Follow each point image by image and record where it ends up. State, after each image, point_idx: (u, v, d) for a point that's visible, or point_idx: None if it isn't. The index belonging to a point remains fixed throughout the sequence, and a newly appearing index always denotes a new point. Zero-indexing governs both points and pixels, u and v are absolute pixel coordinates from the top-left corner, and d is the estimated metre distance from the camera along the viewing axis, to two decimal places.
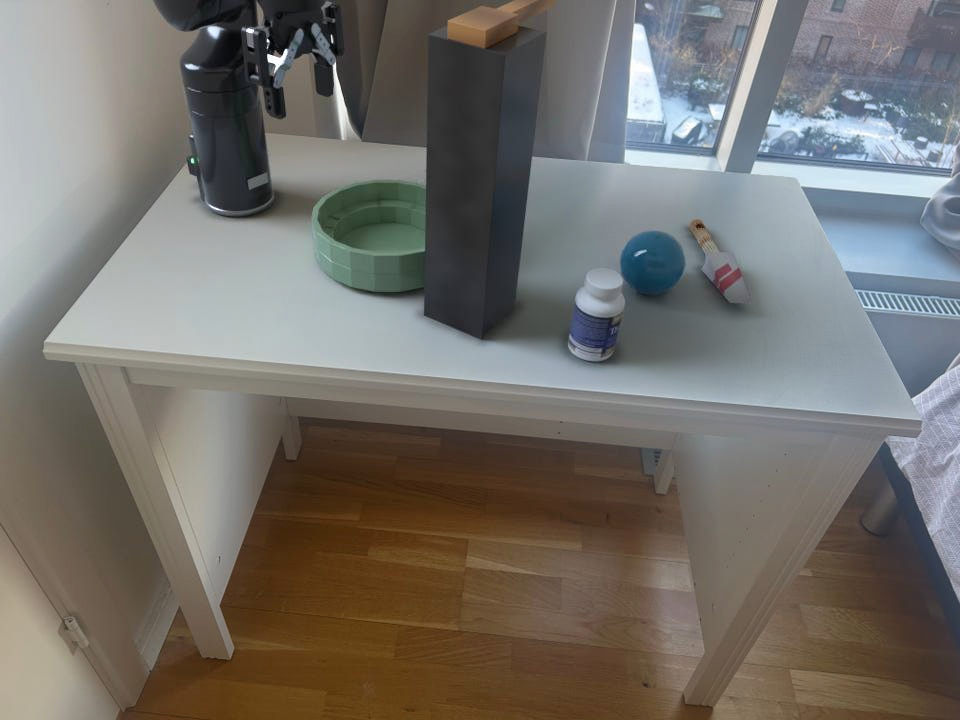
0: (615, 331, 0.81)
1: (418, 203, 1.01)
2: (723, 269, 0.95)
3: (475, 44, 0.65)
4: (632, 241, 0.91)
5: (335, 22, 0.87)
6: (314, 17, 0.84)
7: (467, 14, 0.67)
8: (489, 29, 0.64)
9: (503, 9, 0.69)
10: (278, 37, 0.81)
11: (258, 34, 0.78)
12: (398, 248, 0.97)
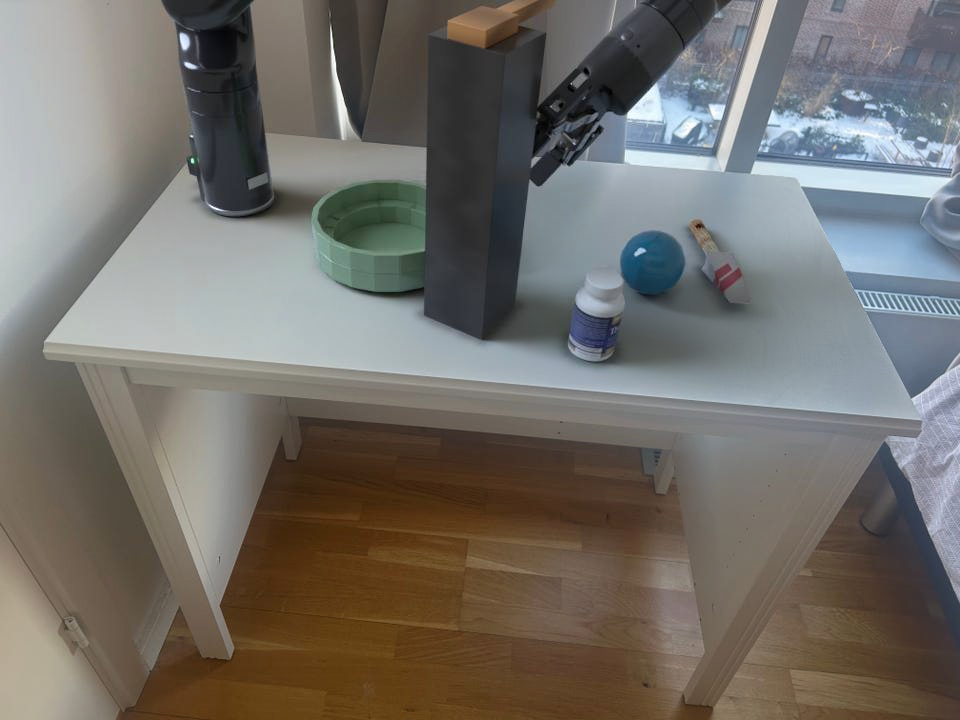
0: (615, 331, 0.81)
1: (418, 203, 1.01)
2: (724, 269, 0.95)
3: (475, 44, 0.65)
4: (632, 241, 0.91)
5: None
6: None
7: (467, 14, 0.67)
8: (489, 29, 0.64)
9: (503, 9, 0.69)
10: None
11: None
12: (398, 248, 0.97)
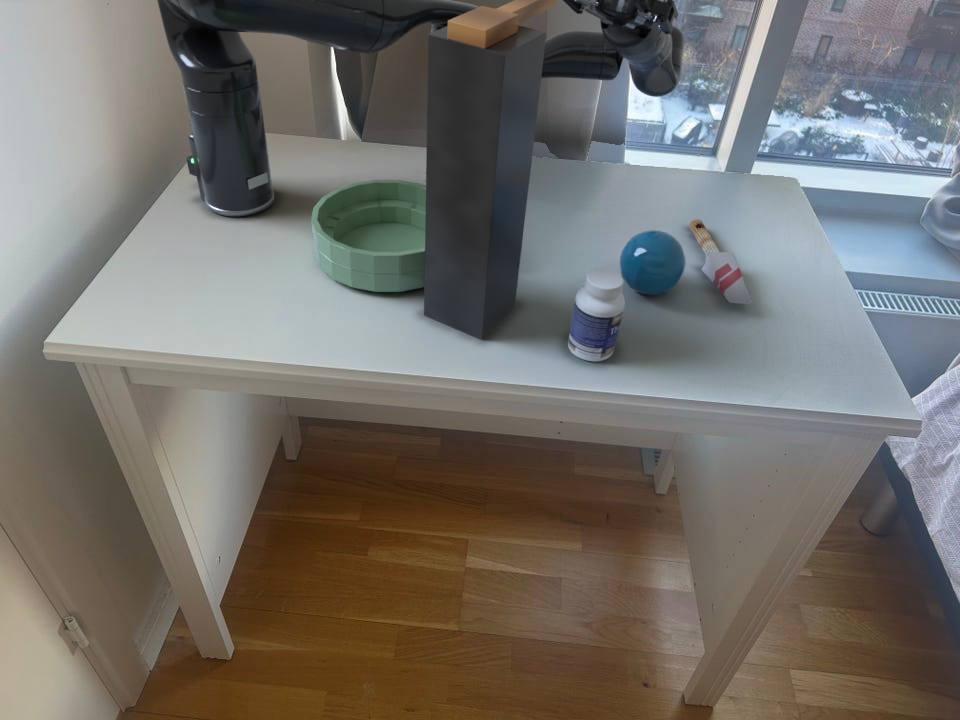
0: (615, 331, 0.81)
1: (418, 203, 1.01)
2: (724, 269, 0.95)
3: (475, 44, 0.65)
4: (632, 241, 0.91)
5: (578, 9, 0.97)
6: None
7: (467, 14, 0.67)
8: (489, 29, 0.64)
9: (503, 9, 0.69)
10: (647, 24, 0.94)
11: (670, 33, 0.94)
12: (398, 248, 0.97)
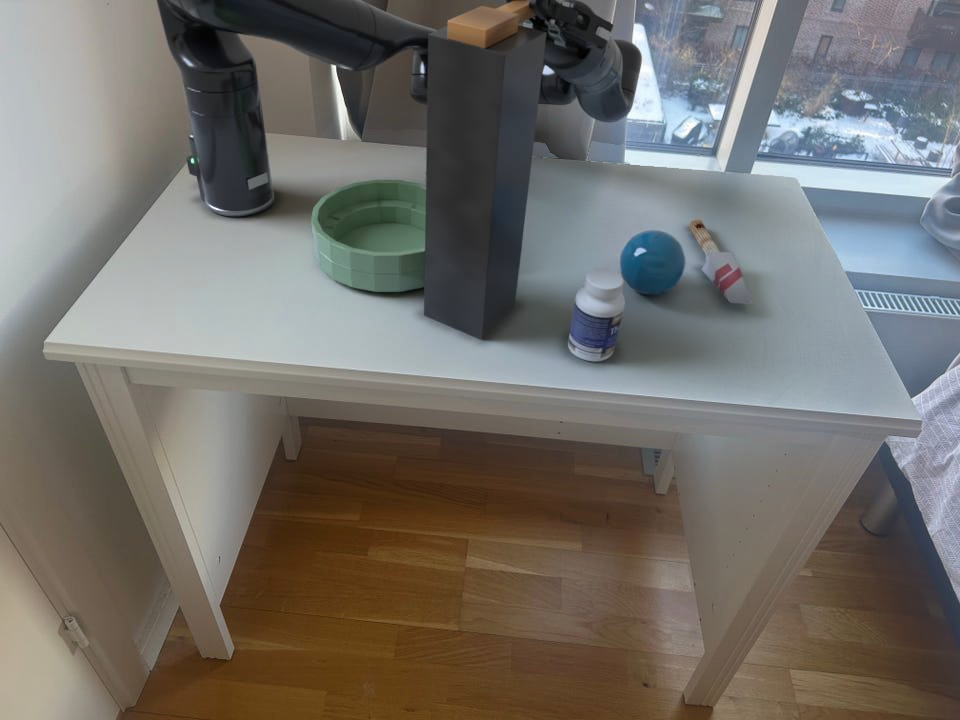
0: (615, 331, 0.81)
1: (418, 203, 1.01)
2: (724, 269, 0.95)
3: (475, 44, 0.65)
4: (632, 241, 0.91)
5: None
6: None
7: (467, 14, 0.67)
8: (489, 28, 0.64)
9: (503, 9, 0.69)
10: (585, 43, 0.79)
11: (604, 47, 0.77)
12: (398, 248, 0.97)
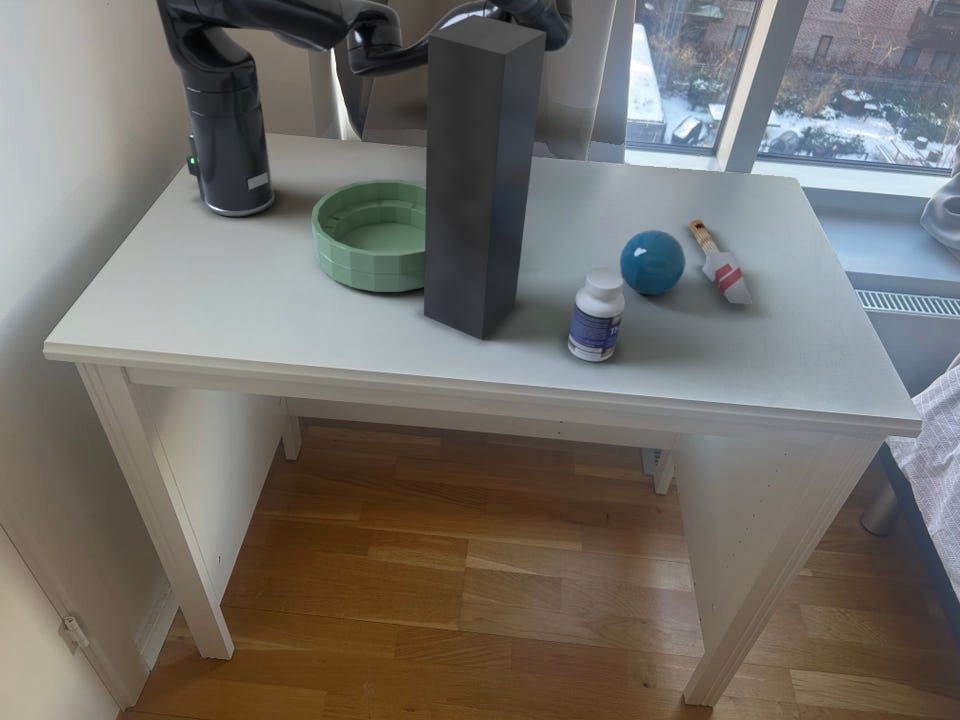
0: (615, 331, 0.81)
1: (418, 203, 1.01)
2: (724, 269, 0.95)
3: None
4: (632, 241, 0.91)
5: None
6: None
7: None
8: None
9: None
10: None
11: None
12: (398, 248, 0.97)
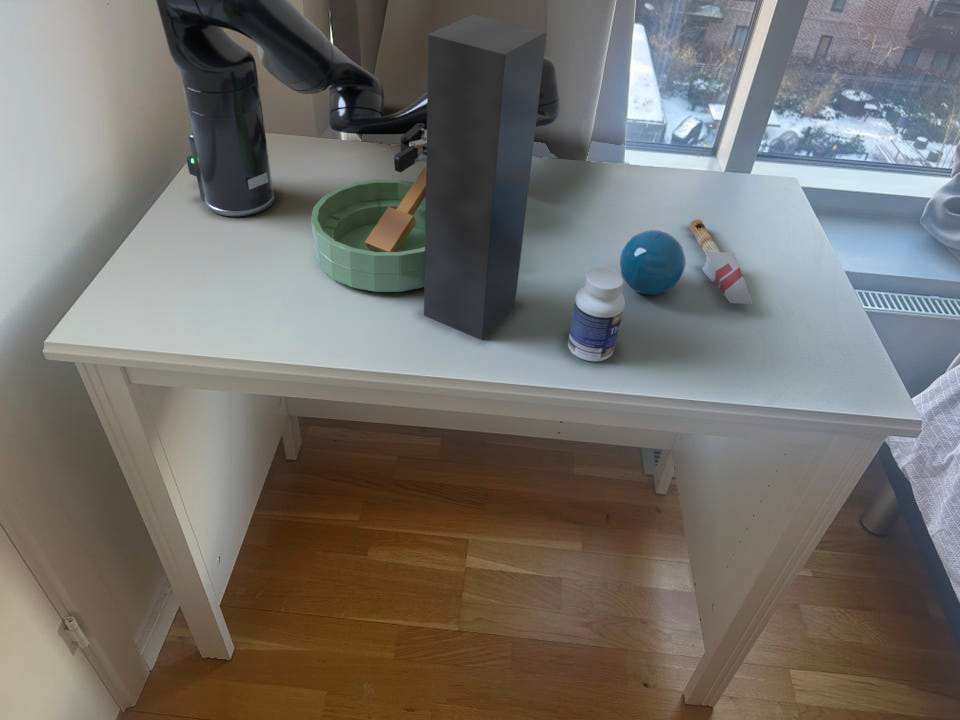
0: (615, 331, 0.81)
1: None
2: (724, 269, 0.95)
3: None
4: (632, 241, 0.91)
5: None
6: None
7: (377, 227, 0.96)
8: (391, 248, 0.94)
9: (403, 205, 0.96)
10: None
11: None
12: None
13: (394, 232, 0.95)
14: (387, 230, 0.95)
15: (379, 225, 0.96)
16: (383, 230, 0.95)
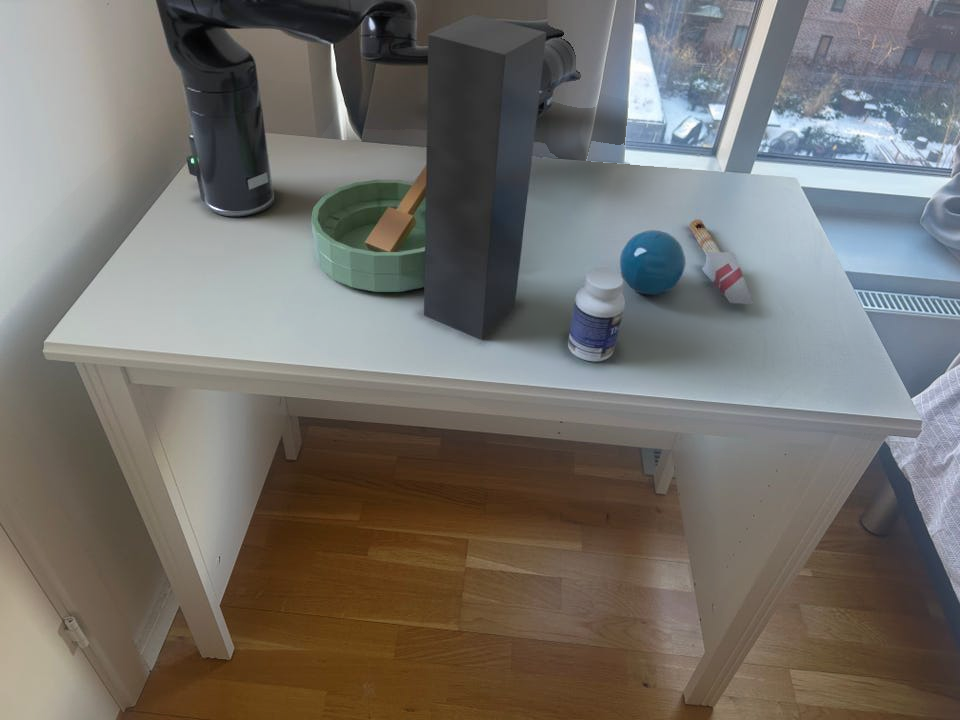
0: (615, 331, 0.81)
1: None
2: (724, 269, 0.95)
3: None
4: (632, 241, 0.91)
5: None
6: None
7: (377, 227, 0.96)
8: (391, 248, 0.94)
9: (403, 205, 0.96)
10: None
11: (550, 106, 1.08)
12: None
13: (394, 232, 0.95)
14: (387, 230, 0.95)
15: (379, 225, 0.96)
16: (383, 230, 0.95)
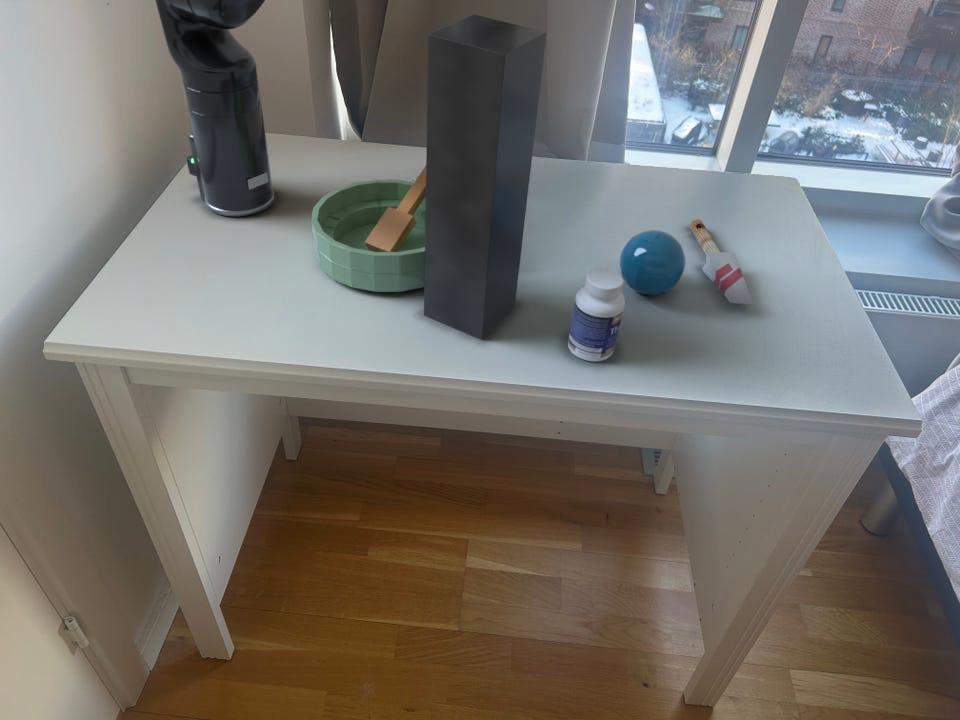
0: (615, 331, 0.81)
1: None
2: (724, 269, 0.95)
3: None
4: (632, 241, 0.91)
5: None
6: None
7: (377, 227, 0.96)
8: (391, 248, 0.94)
9: (403, 205, 0.96)
10: None
11: None
12: None
13: (394, 232, 0.95)
14: (387, 230, 0.95)
15: (379, 225, 0.96)
16: (383, 230, 0.95)
